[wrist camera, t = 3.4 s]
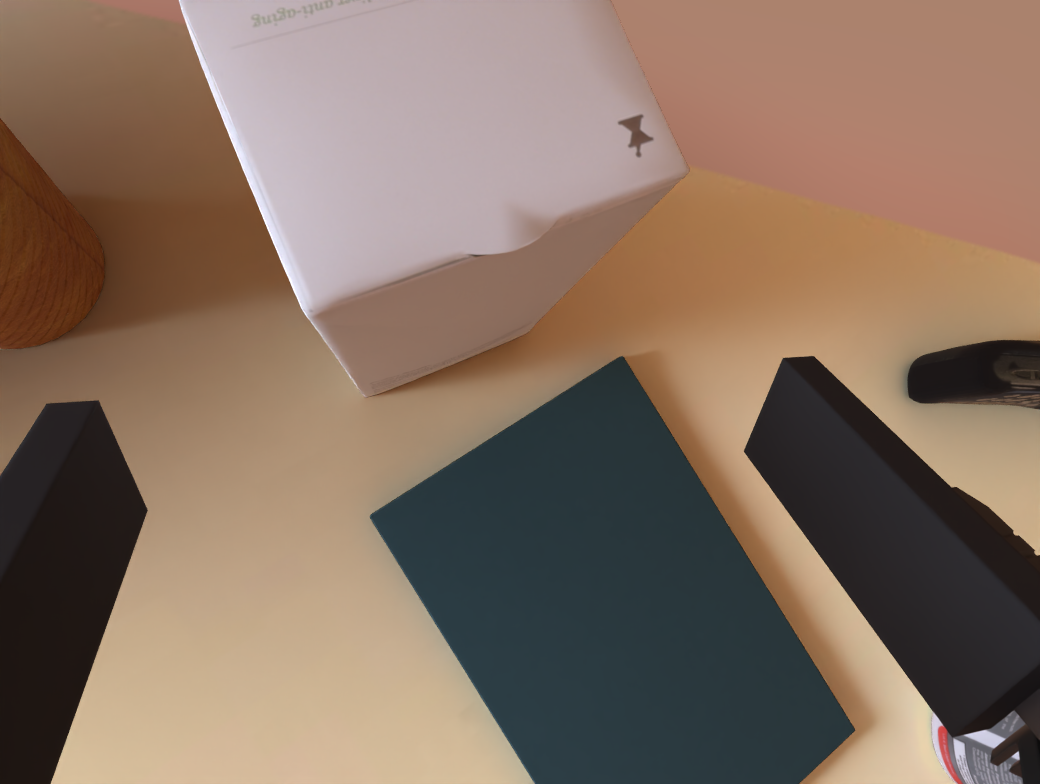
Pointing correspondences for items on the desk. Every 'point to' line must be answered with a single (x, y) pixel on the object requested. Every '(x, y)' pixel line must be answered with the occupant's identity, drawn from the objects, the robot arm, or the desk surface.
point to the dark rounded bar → (979, 374)
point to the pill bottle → (976, 752)
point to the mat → (610, 603)
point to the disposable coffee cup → (41, 253)
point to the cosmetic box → (434, 161)
